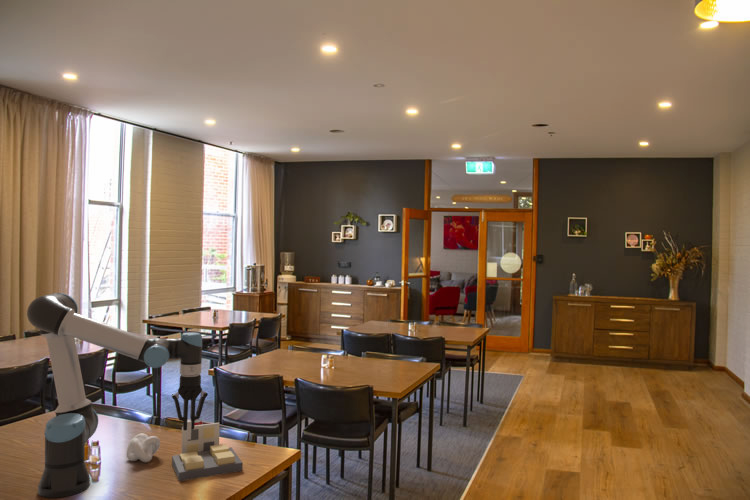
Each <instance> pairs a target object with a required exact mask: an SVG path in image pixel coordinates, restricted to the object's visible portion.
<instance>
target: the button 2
mask: <svg viewBox="0 0 750 500" xmlns="http://www.w3.org/2000/svg"><path fill="white" fill-rule="evenodd" d="M183 467H184V469H185V470H191V469H197V468H204V461H203V459H202V457H201V456H194V457H187V458H183Z"/></svg>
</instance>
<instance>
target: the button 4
mask: <svg viewBox="0 0 750 500" xmlns="http://www.w3.org/2000/svg"><path fill="white" fill-rule="evenodd" d="M215 462H216V464H217V465H223V464H229V463H235V456H234V454H233V453H232V452H231V451H228V452H221V453H215Z"/></svg>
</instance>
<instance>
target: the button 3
mask: <svg viewBox="0 0 750 500" xmlns="http://www.w3.org/2000/svg"><path fill="white" fill-rule="evenodd" d="M229 448H230V447H229V446H228V445H227V443H219V445H213V446H210V454H211V456H212V457H215V453H221V452H228V451H229Z"/></svg>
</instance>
